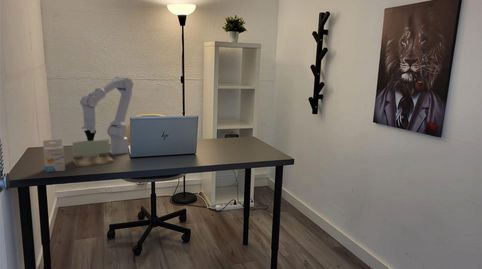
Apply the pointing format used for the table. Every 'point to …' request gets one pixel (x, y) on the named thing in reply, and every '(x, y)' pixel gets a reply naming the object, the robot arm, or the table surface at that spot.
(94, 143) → the hinge leaf
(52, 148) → the ink box
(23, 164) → the table surface
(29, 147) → the table surface
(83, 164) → the base leaf
